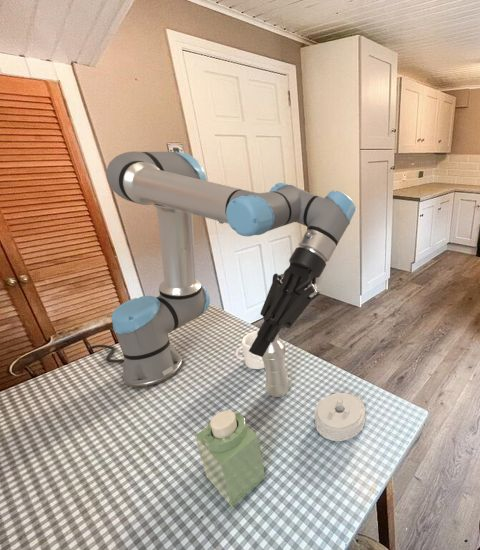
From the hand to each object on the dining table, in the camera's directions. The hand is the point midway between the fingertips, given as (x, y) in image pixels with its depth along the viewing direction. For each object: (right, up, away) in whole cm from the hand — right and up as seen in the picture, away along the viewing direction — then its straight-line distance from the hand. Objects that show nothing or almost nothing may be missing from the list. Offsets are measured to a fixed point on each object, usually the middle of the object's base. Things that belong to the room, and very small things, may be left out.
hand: (255, 354), depth 61 cm
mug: (-13, -13, +38) cm, 42 cm away
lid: (+16, -22, +16) cm, 32 cm away
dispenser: (-5, -27, +3) cm, 27 cm away
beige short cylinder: (-5, -14, -2) cm, 15 cm away
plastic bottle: (-3, -18, +26) cm, 32 cm away
